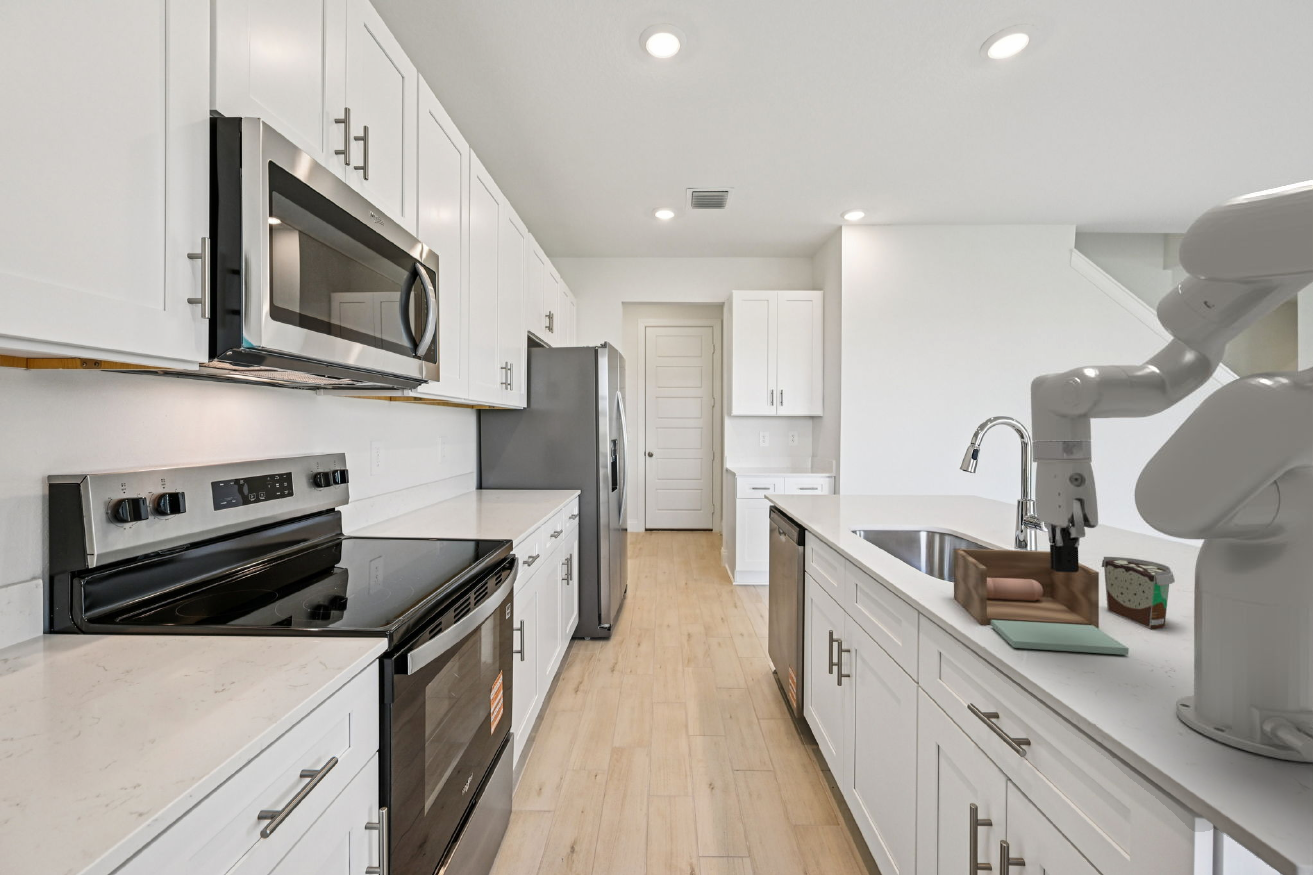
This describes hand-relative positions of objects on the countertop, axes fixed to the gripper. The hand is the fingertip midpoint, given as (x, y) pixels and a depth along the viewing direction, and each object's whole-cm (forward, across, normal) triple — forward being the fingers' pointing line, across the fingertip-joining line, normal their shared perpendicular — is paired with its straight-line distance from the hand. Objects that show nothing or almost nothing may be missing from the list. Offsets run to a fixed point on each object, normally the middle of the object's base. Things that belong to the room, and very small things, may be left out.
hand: (1064, 570), depth 89 cm
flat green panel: (+12, +8, 0) cm, 14 cm away
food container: (+12, +17, -20) cm, 29 cm away
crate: (+12, +16, 0) cm, 20 cm away
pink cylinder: (+10, +22, 0) cm, 24 cm away
